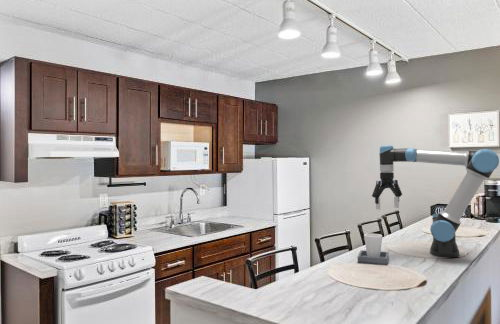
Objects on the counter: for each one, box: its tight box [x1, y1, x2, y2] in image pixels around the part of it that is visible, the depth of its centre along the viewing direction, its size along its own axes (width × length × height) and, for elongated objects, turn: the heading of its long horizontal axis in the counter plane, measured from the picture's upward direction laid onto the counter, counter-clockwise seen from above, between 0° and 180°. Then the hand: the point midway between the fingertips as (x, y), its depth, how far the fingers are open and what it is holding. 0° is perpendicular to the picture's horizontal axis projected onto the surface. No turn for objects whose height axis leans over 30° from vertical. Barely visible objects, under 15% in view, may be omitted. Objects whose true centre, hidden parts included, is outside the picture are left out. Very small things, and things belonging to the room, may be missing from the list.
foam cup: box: [363, 233, 383, 258], centre depth 212 cm, size 10×9×13 cm
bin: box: [357, 250, 390, 266], centre depth 212 cm, size 15×15×4 cm
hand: (387, 208), depth 225 cm, fingers open, 13 cm apart
